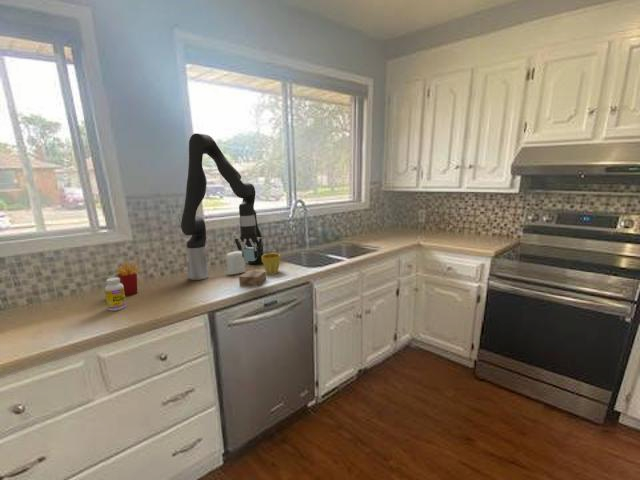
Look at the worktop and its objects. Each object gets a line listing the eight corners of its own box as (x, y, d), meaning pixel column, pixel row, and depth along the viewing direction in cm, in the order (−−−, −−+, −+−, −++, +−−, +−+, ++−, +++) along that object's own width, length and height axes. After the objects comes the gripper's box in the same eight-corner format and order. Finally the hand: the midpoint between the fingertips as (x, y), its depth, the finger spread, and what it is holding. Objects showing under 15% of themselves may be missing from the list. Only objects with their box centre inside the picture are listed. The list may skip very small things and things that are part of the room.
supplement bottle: (113, 312, 132) (108, 282, 130) (105, 309, 136) (100, 280, 133) (129, 306, 138) (125, 277, 135) (121, 303, 141) (117, 275, 139)
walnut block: (239, 286, 160) (239, 276, 159) (248, 279, 170) (247, 270, 169) (258, 287, 158) (257, 277, 157) (266, 280, 168) (265, 271, 167)
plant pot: (279, 275, 175) (278, 257, 173) (260, 275, 176) (259, 258, 174) (282, 269, 186) (281, 253, 184) (264, 270, 186) (263, 253, 184)
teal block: (244, 261, 159) (243, 249, 158) (247, 258, 164) (246, 247, 163) (254, 261, 158) (253, 249, 157) (256, 258, 163) (255, 247, 162)
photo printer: (244, 270, 186) (242, 249, 183) (246, 272, 182) (245, 251, 180) (226, 273, 180) (224, 252, 178) (228, 275, 177) (226, 253, 174)
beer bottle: (244, 264, 199) (240, 211, 192) (252, 260, 209) (249, 209, 202) (259, 265, 196) (256, 211, 189) (267, 260, 206) (264, 209, 199)
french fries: (124, 297, 149) (119, 266, 146) (118, 293, 154) (113, 263, 151) (144, 292, 155) (140, 261, 152) (138, 288, 161) (134, 259, 158)
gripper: (230, 226, 155) (233, 260, 158) (260, 225, 153) (262, 259, 157) (236, 223, 162) (239, 256, 165) (264, 223, 161) (266, 256, 164)
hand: (250, 258), depth 161 cm, fingers closed on teal block, 5 cm apart
